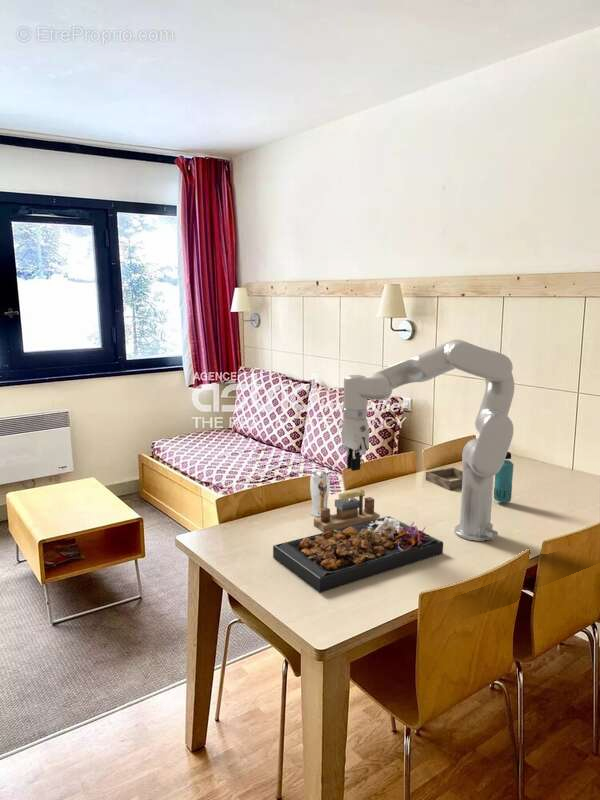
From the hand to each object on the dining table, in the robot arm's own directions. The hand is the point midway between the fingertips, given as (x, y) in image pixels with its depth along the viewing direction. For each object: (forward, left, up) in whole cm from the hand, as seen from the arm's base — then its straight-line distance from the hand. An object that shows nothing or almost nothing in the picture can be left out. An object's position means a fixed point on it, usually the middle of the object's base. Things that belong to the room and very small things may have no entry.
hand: (353, 468), depth 190 cm
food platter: (-17, +9, -22) cm, 29 cm away
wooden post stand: (+6, -1, -21) cm, 22 cm away
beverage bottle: (-4, -64, -21) cm, 68 cm away
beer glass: (+18, +3, -21) cm, 28 cm away
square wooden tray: (+24, -64, -21) cm, 72 cm away
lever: (+6, -3, -12) cm, 13 cm away
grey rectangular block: (+6, -1, -15) cm, 16 cm away
